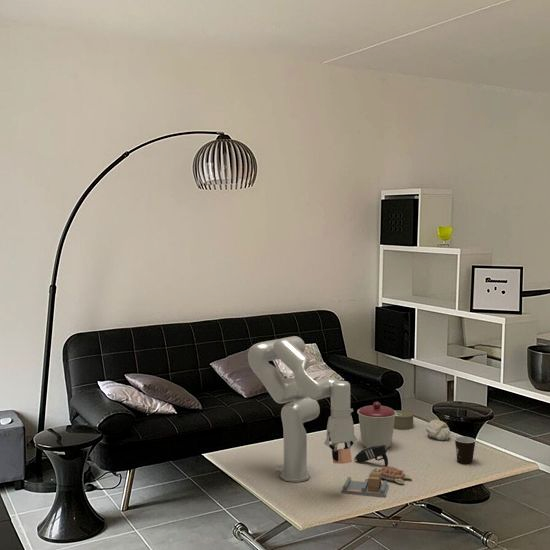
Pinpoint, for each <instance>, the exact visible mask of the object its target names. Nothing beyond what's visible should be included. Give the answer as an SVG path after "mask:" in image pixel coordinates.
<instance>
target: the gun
mask: <svg viewBox="0 0 550 550" xmlns="http://www.w3.org/2000/svg"><path fill="white" fill-rule="evenodd" d="M387 451H388V448H386V446H385V445H382V446H373V447H368V448H366V447H365V448H363V449H361V450H360V451H359V452H358V453H356V455H355V456H354V458H353V460H354V461H356V462H357V464H361V463H364V462H365V463H366V462H368V461H370V460H373V459H374V460H376V461H382V460H383V462H384V466H383V467H387V466H388V465H389V458H388V456H387V453H388V452H387ZM379 457H380V458H379Z"/></svg>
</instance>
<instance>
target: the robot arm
mask: <svg viewBox="0 0 550 550" xmlns="http://www.w3.org/2000/svg"><path fill="white" fill-rule="evenodd" d="M305 352H306V344H305V342H304V340H303V339H302V338H301V337H299V336H295V335H293V336H288V337H283V338H276V339H272V340H266V341H260V342H257V343H255V344H253V345H252V346H250V347H249V349H248V352H247V361H248V365H249V367H250V369H251V370H252V371H253V373H254V374H255V376H257V379H259V380H260V382H261V383H262V385H263V386H264V387H265V389H266V390H267V393H269V395H270V396H271V398H272V400H273V401H275V402H276V403H277V404H284V405H283V407H282V408H281V411H280V418H281V422H282V428H283V430H282V431H283V434H282V435H283V464H274V465H273V469H274V470H275V472H280V473H279V477H280V478H281V480H282V481H285V482H289V483H290V482H292V483H299V482H300V483H301V482H305V481H308V480H309V479H310V478H311V472H310V471H308V467H307V465H308V463H307V462H308V459H307V458H308V453H307V452H308V448H307V447H308V445H307V444H308V438H307V435H308V434H307V431H306V428H305V427H304V423H306V422H310V421H313V420H315V419H317V418H318V417H319V415H320V412H321V411H320V410H321V409H320V405H319V402H318V401H319V400H322V399H324V398H325V399H326V398H330V416H328V418H327V419H328V420H327V425H326V439H325V441H324V442H323V444H324V445H325V446H327V447H328V448H330V449H331V457H332V461H333V460H335V461H336V462H337V461H338V451H337V449H338V447H339V446H338V445H339V444H343V445H344V447H343V449H350V450H351V449H352V446H353V445H354V443H356V442H357V441H358V438H357V437H356V435H355V426H354V420H353V417H352V413H353V412H354V408H351V383H350V382H349V381H346V380H340V379H338V378H336V377H332V376H328V377H322V378H318V379H313V378H312V377H311V376H310V375H308V373H307V372H306V371H307V369H308V368H309V366H310V364H311V359H310V357H309V356H307V354H306V353H305ZM277 360H280V361H281V362H282V363H283V364H284V365H285V366H287V367H288V368H289V370H291V371H292V372H293V374H294V375H293V376H294V377H293V376H292V377H288V378H285V377H284V376H283V375H282V374H281V372H280V371H279V369H278V368H277V367H275V365H273V364H272V363H269V362H271V361H277ZM330 442H331V443H330Z"/></svg>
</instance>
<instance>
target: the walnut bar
mask: <svg viewBox="0 0 550 550" xmlns="http://www.w3.org/2000/svg"><path fill="white" fill-rule="evenodd" d="M367 479H368V491H373V492H379V489H380V486H381V484H382V483H381V480H382V477H381V472H374V471H373V470H371V471H370V473H369V476H368V477H367Z"/></svg>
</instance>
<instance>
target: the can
mask: <svg viewBox="0 0 550 550" xmlns="http://www.w3.org/2000/svg"><path fill="white" fill-rule="evenodd" d="M395 411H396V412H397V414H396V415H395V421H394V429H393V430H397V431H407V430H408V431H409V429H410V430H413V428H414V415H415V414H414V413H413V412H412V411H409V410H403V409H402V410H400V409H399V410H397V409H396V410H395Z"/></svg>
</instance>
